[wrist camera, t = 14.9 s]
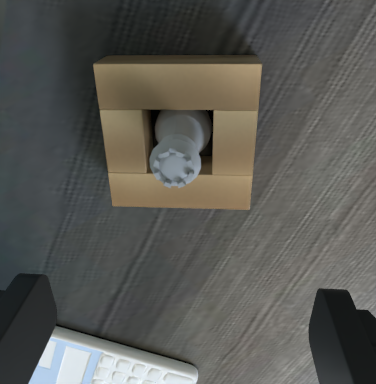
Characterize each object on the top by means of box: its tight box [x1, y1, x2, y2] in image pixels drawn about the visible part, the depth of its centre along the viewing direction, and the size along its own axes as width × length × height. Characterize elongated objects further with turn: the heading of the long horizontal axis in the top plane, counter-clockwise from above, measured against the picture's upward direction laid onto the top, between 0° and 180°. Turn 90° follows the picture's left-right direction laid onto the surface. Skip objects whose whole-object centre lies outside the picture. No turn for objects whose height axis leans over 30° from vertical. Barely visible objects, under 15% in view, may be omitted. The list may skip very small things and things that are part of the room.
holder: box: [93, 55, 262, 210], centre depth 27 cm, size 11×11×4 cm
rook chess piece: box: [149, 110, 212, 188], centre depth 25 cm, size 4×4×8 cm
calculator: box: [29, 326, 198, 384], centre depth 45 cm, size 13×20×2 cm, turn 71°
